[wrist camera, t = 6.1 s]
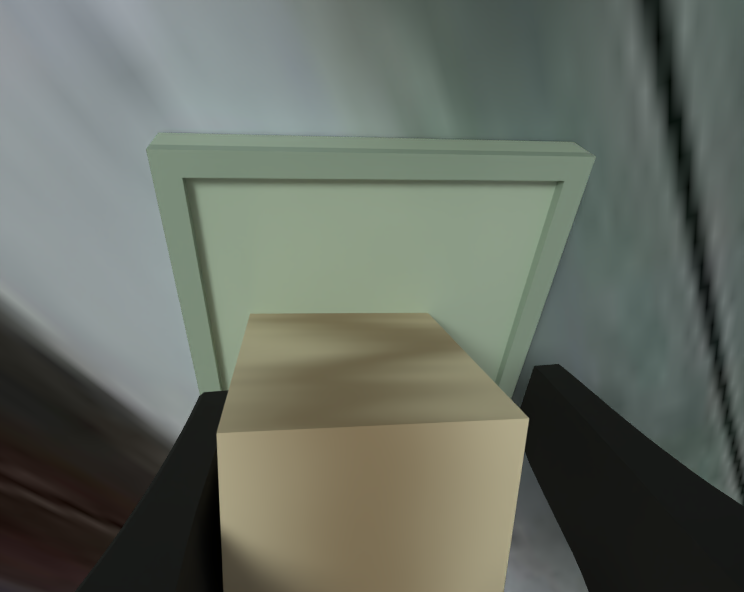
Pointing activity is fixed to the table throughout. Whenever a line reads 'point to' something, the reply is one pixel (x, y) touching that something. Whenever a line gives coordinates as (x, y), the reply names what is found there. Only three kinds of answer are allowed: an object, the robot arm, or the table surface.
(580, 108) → the table surface
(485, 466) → the maple block
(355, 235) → the tray
